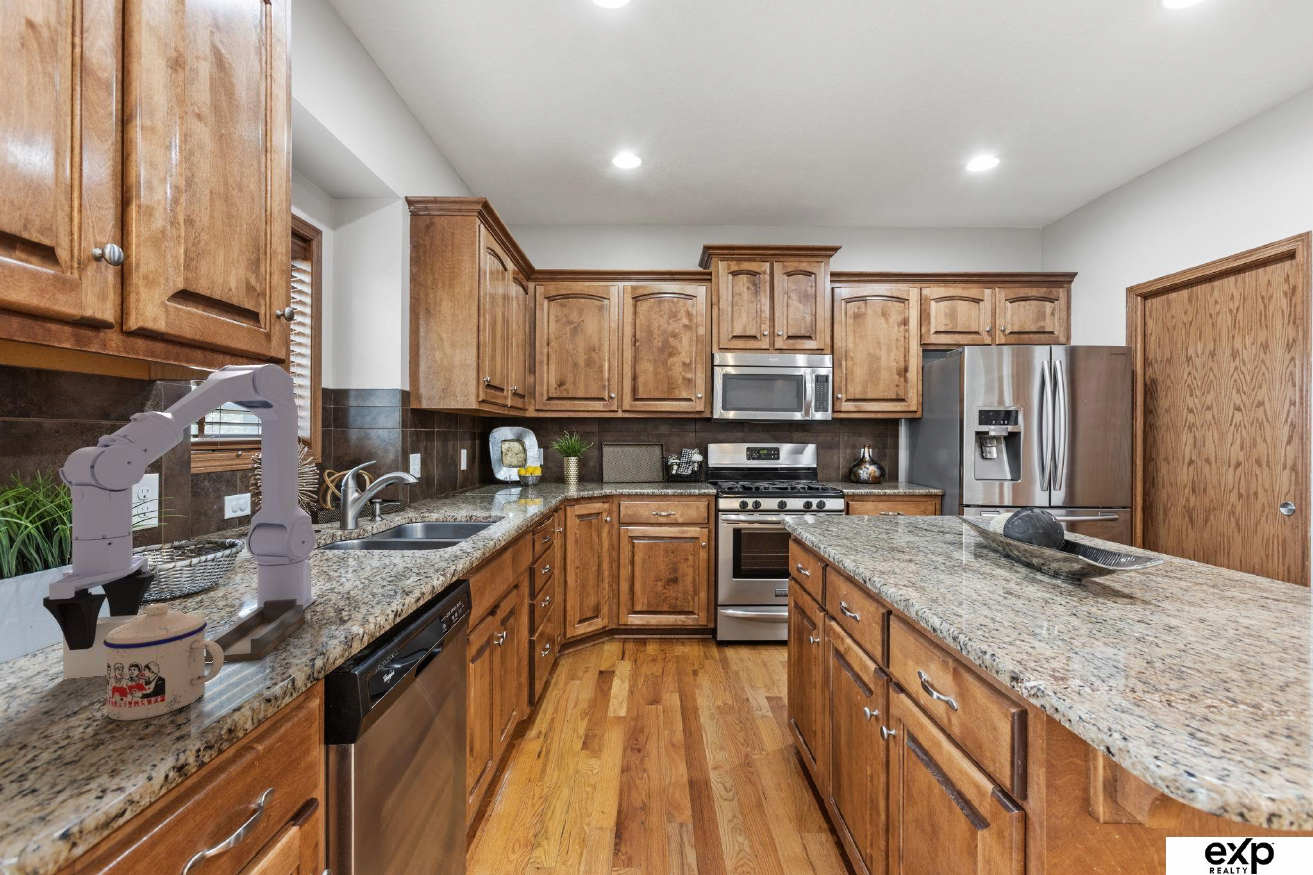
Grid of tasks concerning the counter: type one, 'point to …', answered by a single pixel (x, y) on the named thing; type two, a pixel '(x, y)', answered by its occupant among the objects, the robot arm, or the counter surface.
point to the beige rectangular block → (92, 650)
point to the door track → (259, 631)
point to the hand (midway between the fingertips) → (103, 638)
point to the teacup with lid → (157, 663)
